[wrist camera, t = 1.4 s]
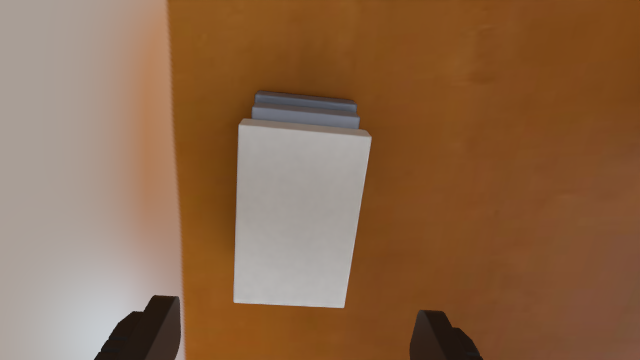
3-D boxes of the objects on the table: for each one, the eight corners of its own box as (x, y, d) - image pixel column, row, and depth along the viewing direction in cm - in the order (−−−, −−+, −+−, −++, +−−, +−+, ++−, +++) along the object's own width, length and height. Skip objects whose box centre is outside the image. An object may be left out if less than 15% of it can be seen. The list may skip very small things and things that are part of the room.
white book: (243, 117, 17) (238, 124, 16) (366, 129, 18) (372, 136, 17) (237, 285, 21) (233, 303, 20) (341, 291, 22) (344, 308, 20)
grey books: (257, 90, 20) (250, 97, 17) (353, 100, 21) (362, 109, 18) (249, 268, 24) (242, 300, 21) (329, 273, 25) (333, 304, 22)
